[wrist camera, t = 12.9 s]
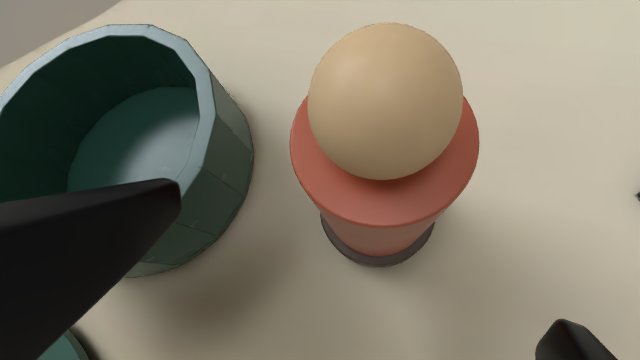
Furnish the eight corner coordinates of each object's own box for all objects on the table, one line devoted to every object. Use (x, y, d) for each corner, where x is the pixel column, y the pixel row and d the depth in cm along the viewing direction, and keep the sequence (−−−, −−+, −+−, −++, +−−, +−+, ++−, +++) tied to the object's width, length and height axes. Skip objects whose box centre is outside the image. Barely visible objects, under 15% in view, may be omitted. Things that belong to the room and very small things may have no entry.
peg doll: (400, 289, 15) (482, 300, 4) (303, 231, 17) (165, 123, 6) (450, 190, 16) (625, -21, 5) (355, 145, 18) (326, -91, 7)
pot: (167, 322, 16) (84, 337, 12) (25, 208, 20) (-81, 185, 15) (293, 126, 19) (267, 74, 14) (147, 56, 23) (88, -4, 18)
